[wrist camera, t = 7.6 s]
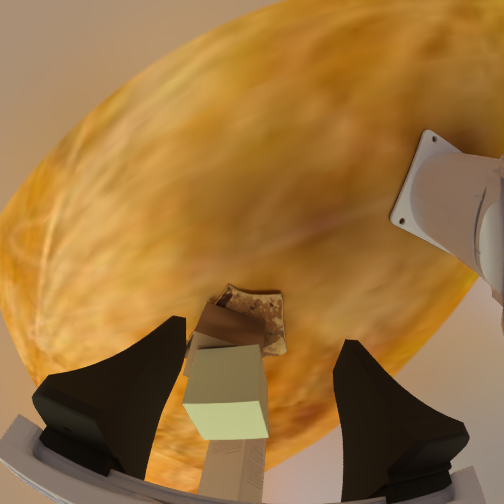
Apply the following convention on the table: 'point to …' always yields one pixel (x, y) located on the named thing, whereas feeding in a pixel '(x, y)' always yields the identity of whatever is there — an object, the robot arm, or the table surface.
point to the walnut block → (224, 331)
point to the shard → (256, 316)
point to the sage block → (228, 393)
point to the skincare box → (234, 470)
